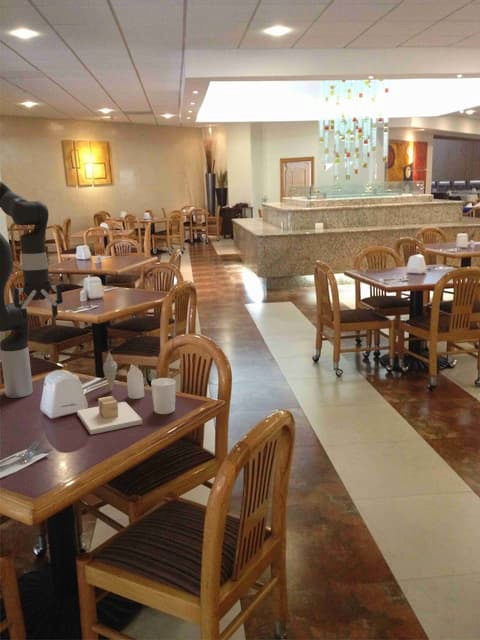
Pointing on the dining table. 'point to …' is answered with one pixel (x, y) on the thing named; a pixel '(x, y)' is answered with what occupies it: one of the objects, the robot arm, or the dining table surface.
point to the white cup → (163, 395)
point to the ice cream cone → (110, 370)
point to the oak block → (108, 407)
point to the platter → (99, 424)
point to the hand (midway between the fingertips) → (40, 318)
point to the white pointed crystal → (135, 383)
